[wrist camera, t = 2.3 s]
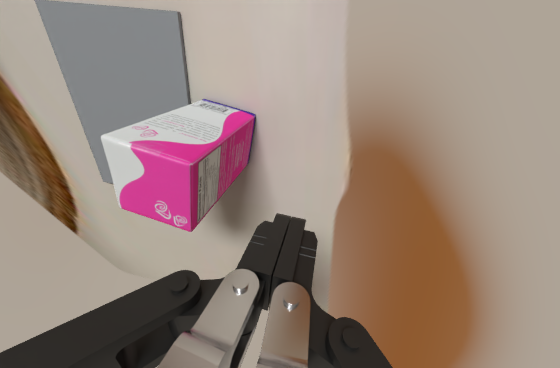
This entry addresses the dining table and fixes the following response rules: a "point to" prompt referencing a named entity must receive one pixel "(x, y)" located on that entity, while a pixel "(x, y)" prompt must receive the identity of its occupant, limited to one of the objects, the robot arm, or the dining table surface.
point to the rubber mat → (117, 65)
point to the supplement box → (179, 161)
